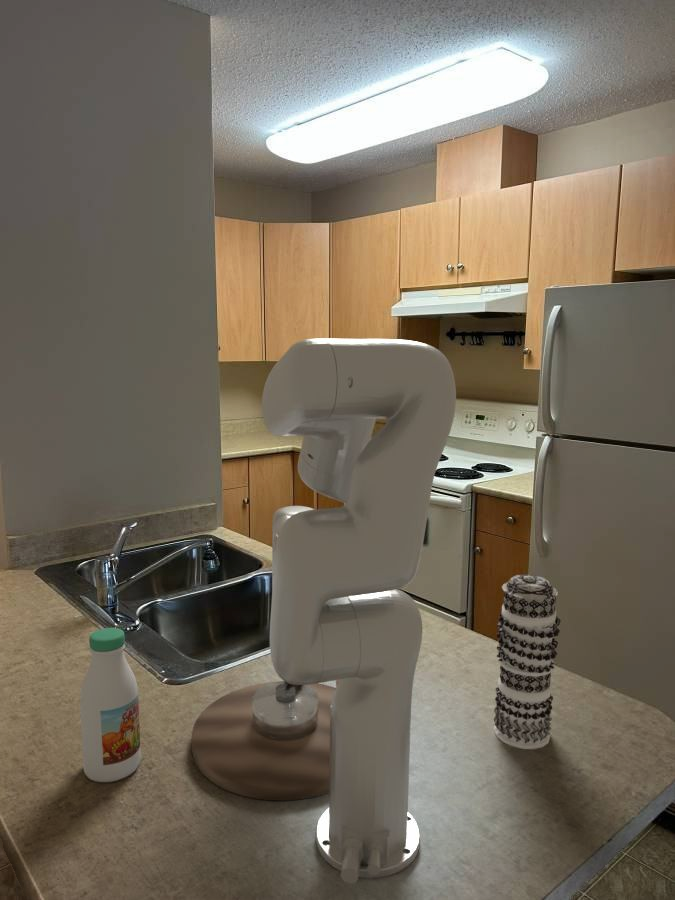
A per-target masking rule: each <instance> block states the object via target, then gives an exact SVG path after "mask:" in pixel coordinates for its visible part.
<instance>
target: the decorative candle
mask: <svg viewBox="0 0 675 900" xmlns="http://www.w3.org/2000/svg"><path fill="white" fill-rule="evenodd" d="M501 588H502V590H503V604H502V605H501V614H499V615H498V616H497V620H498V623H497V624H496V628H497V629H498V632H497V633H496V637H497V641H498V645H497V646H496V650H497V651H498V654H497V655H496V657H497V661H498V664H499V672H500V674H499V676H498V677H497V678H498V679H497V680H498V681H497V687H495V693H496V696H495V697H494V699H495V706H494V709H493V711H494V716H493V722H494V726H493V731H494V734H495V736H496V737H497V738H498V739H499V741H501V742H503V743H504V744H506V745H509V746H510V747H513V748H516V749H517V748H518V749H521V750H537V749H540V748H541V749H542V748H544V747H545V746H546V745H548V744H549V742H550V737H551V735H550V734H551V732H550V731H551V730H552V726H551V721H553V719H552V718H553V717H552V716H550V715H551V714H552V710H553V706H552V703H553V702H552V701H554V697H553V695H552V681H551V680H552V678H551V677H552V672H553V671H554V669H555V662H554V660H553V659H556V658H557V656H558V652H557V651H556V649H557V648H558V645H559V642H558V641H557V640H556V639H555V637H557V636H559V634H560V633H561V632H560V631H561V630H560V629H559V628H558V626H560V623H561V621H562V620H561V619H560V618H559V617H558V616H557V610H556V603H557V602H556V600H557V596H558V593H559V592H558V590H557V589H556V588H555V587H553V586H552V584H551V583H550V581H549V580H548V579H547V578H544V577H542V576H538V575H534V574H517V575H514V576H512V577H510V579H509V580H508V581H507V582H505V583H503V584H502V586H501Z"/></svg>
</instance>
